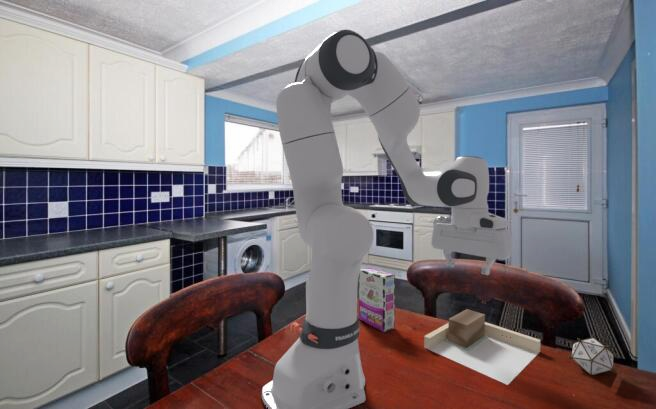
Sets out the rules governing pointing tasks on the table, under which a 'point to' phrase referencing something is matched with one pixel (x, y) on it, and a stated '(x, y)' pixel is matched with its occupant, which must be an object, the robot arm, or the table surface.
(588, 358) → the game die
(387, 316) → the candy bar box
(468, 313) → the walnut block
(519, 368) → the arena
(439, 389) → the table surface
